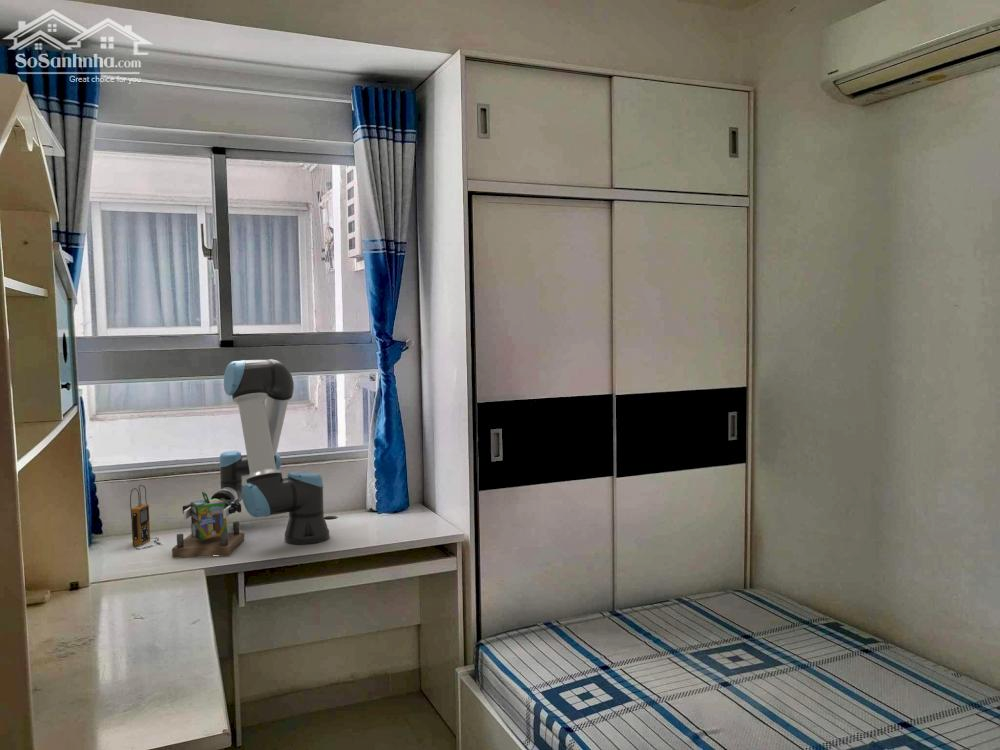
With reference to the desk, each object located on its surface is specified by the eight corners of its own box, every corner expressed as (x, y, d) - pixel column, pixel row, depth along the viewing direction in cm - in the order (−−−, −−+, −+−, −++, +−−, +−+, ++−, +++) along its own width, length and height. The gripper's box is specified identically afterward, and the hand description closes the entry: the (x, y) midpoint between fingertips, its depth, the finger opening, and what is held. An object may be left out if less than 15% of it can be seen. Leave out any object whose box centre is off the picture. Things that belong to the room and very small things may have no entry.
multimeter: (156, 549, 259) (153, 490, 258) (127, 549, 260) (124, 490, 258) (175, 537, 274) (173, 481, 273) (147, 538, 274) (145, 482, 273)
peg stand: (244, 540, 268) (243, 520, 268) (229, 555, 250) (228, 534, 250) (191, 542, 267) (190, 522, 267) (172, 557, 249) (171, 536, 249)
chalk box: (227, 536, 258) (225, 492, 257) (199, 541, 252) (197, 495, 251) (218, 530, 265) (217, 487, 264) (191, 535, 259) (189, 491, 259)
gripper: (258, 509, 277) (242, 524, 255) (189, 511, 275) (167, 527, 254) (258, 488, 277) (241, 502, 255) (188, 490, 275) (166, 504, 254)
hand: (204, 514), depth 254 cm, fingers closed on chalk box, 12 cm apart
